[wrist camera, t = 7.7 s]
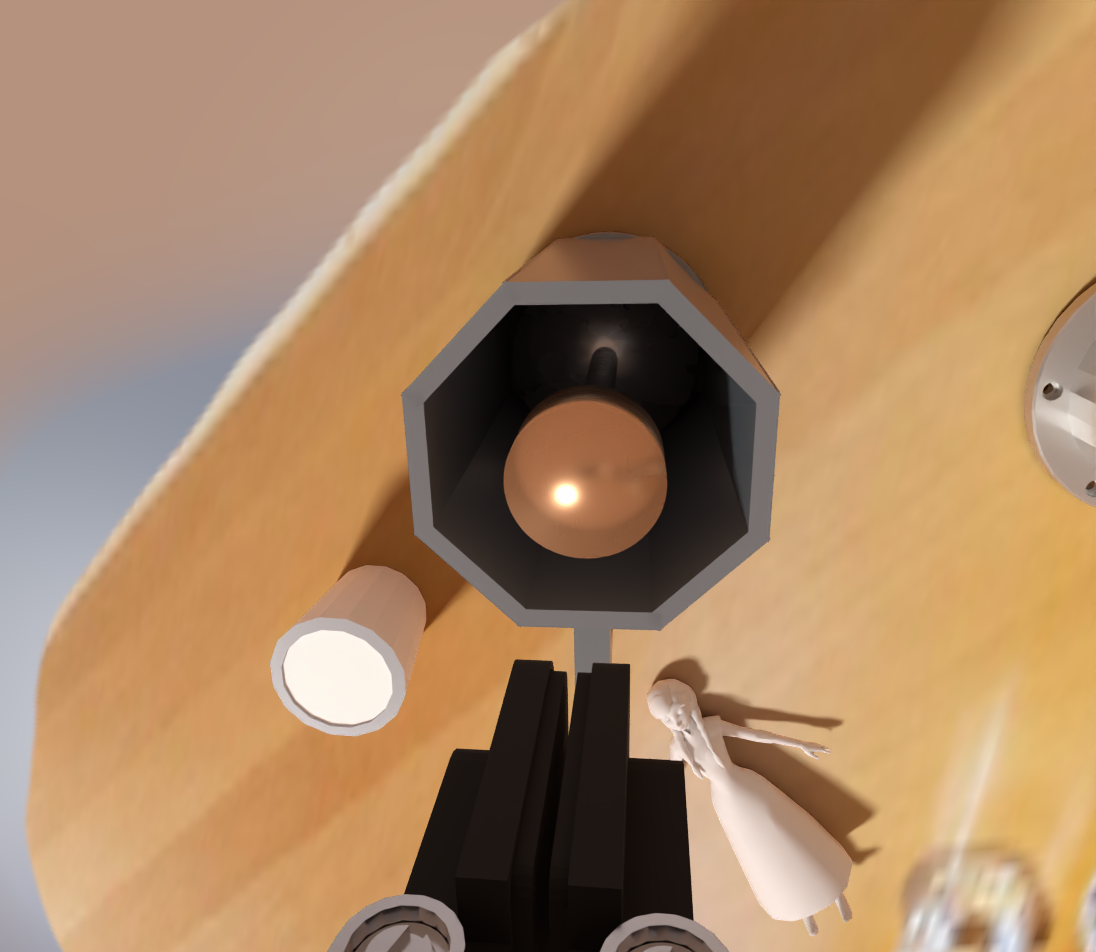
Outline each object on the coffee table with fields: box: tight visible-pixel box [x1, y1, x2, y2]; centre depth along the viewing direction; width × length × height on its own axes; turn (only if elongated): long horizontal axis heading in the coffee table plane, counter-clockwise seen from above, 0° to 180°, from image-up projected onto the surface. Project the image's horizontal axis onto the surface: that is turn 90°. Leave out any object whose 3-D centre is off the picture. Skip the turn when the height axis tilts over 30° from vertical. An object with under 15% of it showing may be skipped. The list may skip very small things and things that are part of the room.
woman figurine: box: [647, 679, 853, 936], centre depth 47 cm, size 12×4×18 cm
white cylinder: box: [270, 565, 427, 736], centre depth 43 cm, size 7×7×7 cm
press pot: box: [401, 231, 781, 687], centre depth 32 cm, size 11×14×18 cm
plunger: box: [504, 303, 698, 559], centre depth 30 cm, size 8×8×17 cm
